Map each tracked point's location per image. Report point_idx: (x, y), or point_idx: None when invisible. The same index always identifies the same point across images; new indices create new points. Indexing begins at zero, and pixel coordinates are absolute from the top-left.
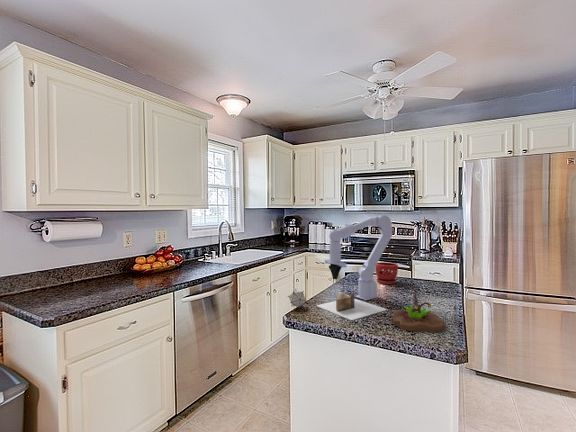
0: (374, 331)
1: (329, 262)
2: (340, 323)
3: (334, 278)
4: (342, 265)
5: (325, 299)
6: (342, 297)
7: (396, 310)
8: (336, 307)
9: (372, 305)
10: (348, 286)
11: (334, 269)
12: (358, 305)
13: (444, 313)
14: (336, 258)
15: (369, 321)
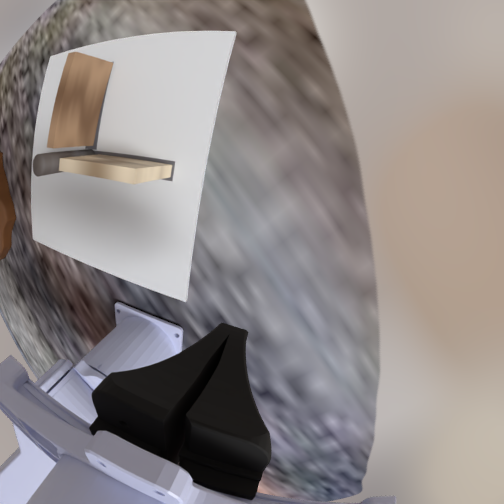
0: (11, 67)
1: (127, 468)
2: (69, 15)
3: (218, 327)
4: (7, 377)
5: (278, 176)
6: (114, 161)
7: (1, 216)
8: (104, 60)
9: (66, 246)
10: (309, 439)
11: (136, 372)
12: (89, 204)
13: (2, 299)
14: (29, 501)
15: (24, 102)
